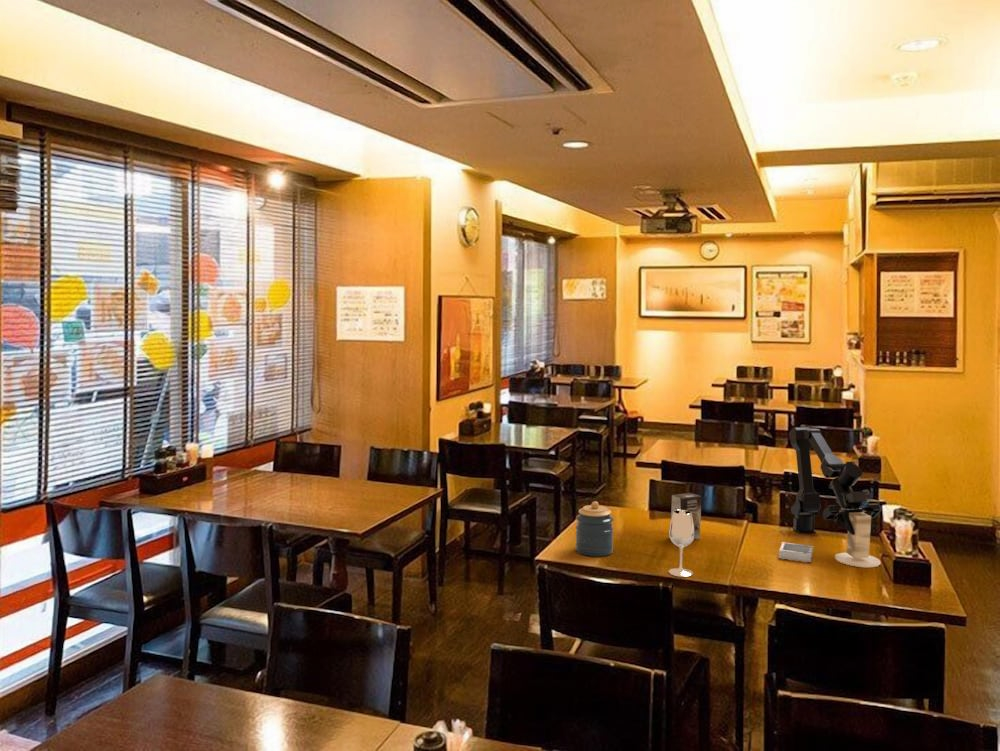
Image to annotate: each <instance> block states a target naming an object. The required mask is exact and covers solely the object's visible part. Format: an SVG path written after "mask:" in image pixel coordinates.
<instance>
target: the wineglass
mask: <svg viewBox="0 0 1000 751" xmlns="http://www.w3.org/2000/svg"><path fill="white" fill-rule="evenodd" d="M668 533H669V534H668V535H669V539H670V541H671V542H672V543H673V544H674V545H675V546H676V547H679V567H676V568H675V567H673V568H670V569H669V570H668V573H669V574H670V575H671V576H673V577H679V578H680V577H681V578H687V577H691V576H693V574H694V571H692V570H690V569H687V568H683V550H684V548H686V547H688V546H689V545H691V544H692V543H693V541H694V540H693V539H694V525H693V519H692V514H691V512H690V511H688V510H675V511H674V512H673V515H672V519H671V518H670V525H669V532H668Z"/></svg>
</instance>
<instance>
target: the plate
mask: <svg viewBox="0 0 1000 751" xmlns="http://www.w3.org/2000/svg"><path fill="white" fill-rule="evenodd" d="M834 559H835V561H837V562H838V563H841V564H842V563H843V565H845V564H846V566H849V565H850V566H849V567H854V566H855V567H856V568H866V569H867V568H869V569H870V568H877V567H879V565H880V566H881V565H882V564H881V560H880V559H879V558H878V557H875V556H873V555H870V554H869V557H866V558H854V557H852V556H851V555H849V554H847V553H846V552H840V553H836V554H835V555H834Z"/></svg>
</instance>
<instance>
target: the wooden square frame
mask: <svg viewBox="0 0 1000 751" xmlns="http://www.w3.org/2000/svg"><path fill="white" fill-rule="evenodd" d="M812 554H814V546H813V545H809V544H808V545H807V544H800V543H792V542H785V541H782V542H781V545H780V548H779V550H778V559H779V558H781V559H780V560H784V559H788V560H787V561H792V560H795V561H794V562H799V561H802V562H801V563H807V562H811V563H812V559H813V555H812ZM811 558H812V559H811Z"/></svg>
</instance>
